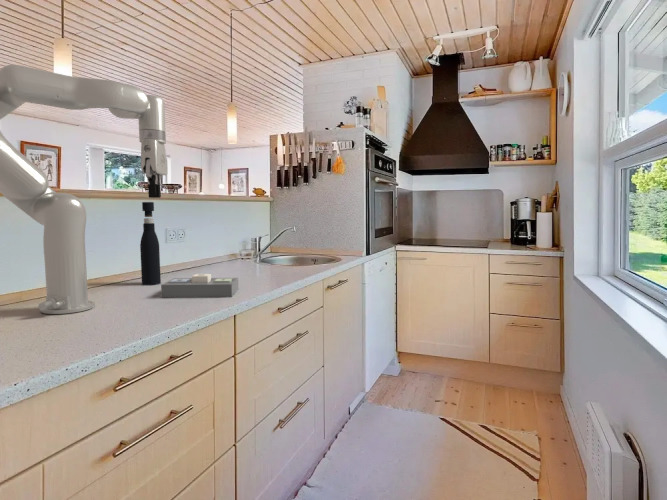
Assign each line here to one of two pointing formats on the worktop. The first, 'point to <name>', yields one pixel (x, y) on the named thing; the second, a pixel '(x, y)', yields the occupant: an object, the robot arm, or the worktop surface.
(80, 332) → the worktop surface
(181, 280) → the key blue
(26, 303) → the worktop surface
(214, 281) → the key sage
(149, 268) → the wine bottle
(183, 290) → the key panel
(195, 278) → the key cream
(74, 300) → the robot arm
